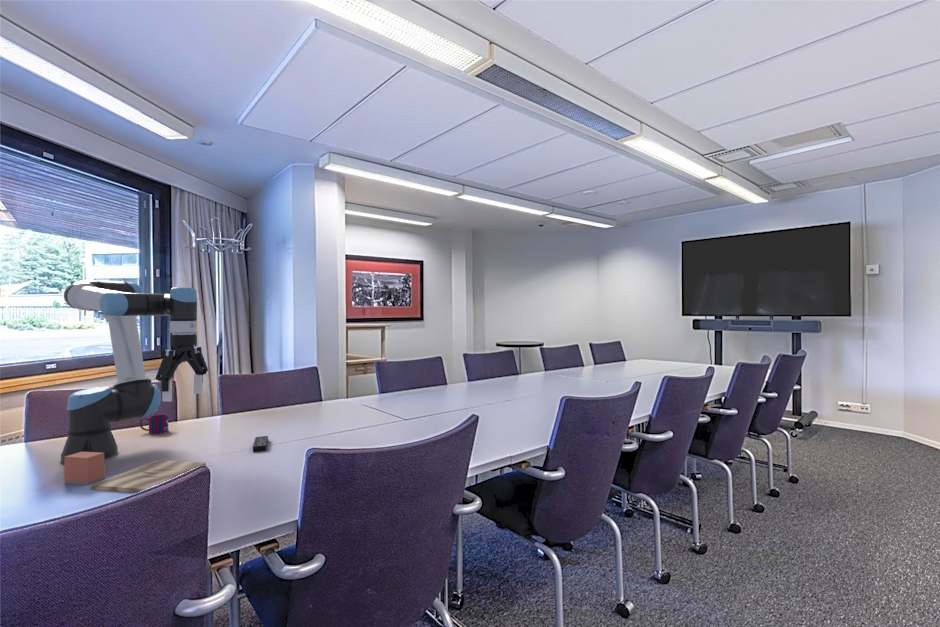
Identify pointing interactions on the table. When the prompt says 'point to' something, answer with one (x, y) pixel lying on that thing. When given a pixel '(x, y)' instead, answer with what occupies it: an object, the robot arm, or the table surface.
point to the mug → (157, 424)
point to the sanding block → (84, 468)
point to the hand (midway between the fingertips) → (183, 397)
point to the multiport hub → (260, 444)
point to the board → (145, 476)
